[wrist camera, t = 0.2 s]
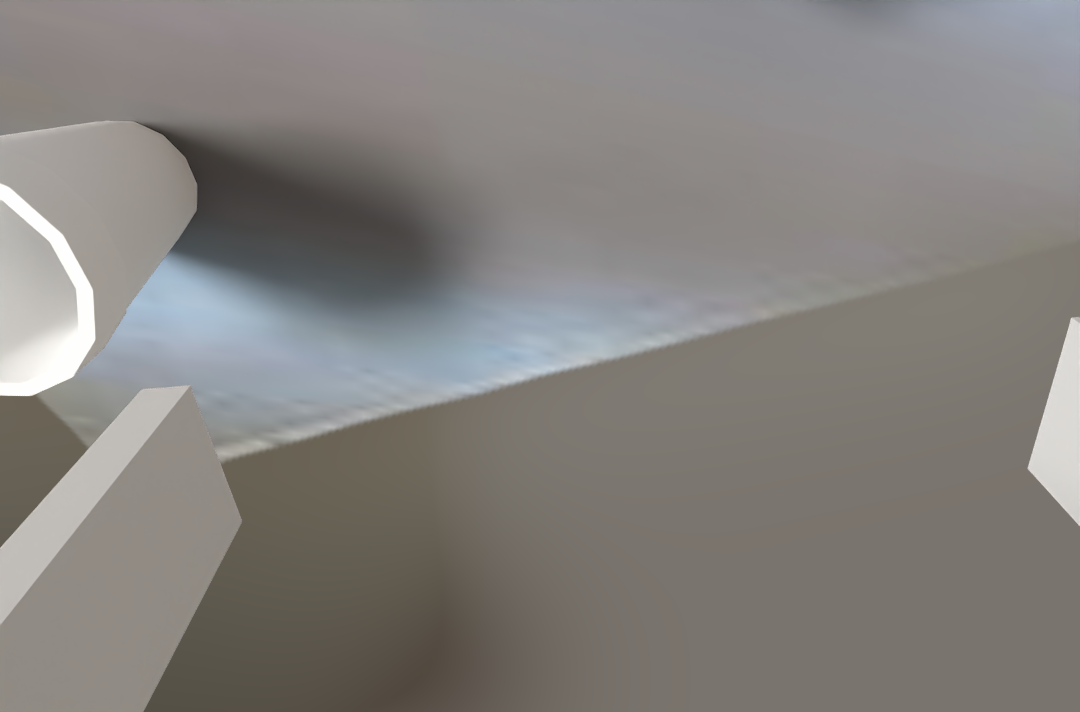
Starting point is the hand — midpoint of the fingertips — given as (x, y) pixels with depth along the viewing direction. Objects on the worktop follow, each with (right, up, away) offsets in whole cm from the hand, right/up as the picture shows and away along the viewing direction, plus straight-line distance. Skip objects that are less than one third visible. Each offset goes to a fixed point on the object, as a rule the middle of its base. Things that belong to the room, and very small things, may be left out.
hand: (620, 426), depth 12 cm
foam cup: (-22, +10, +27) cm, 36 cm away
